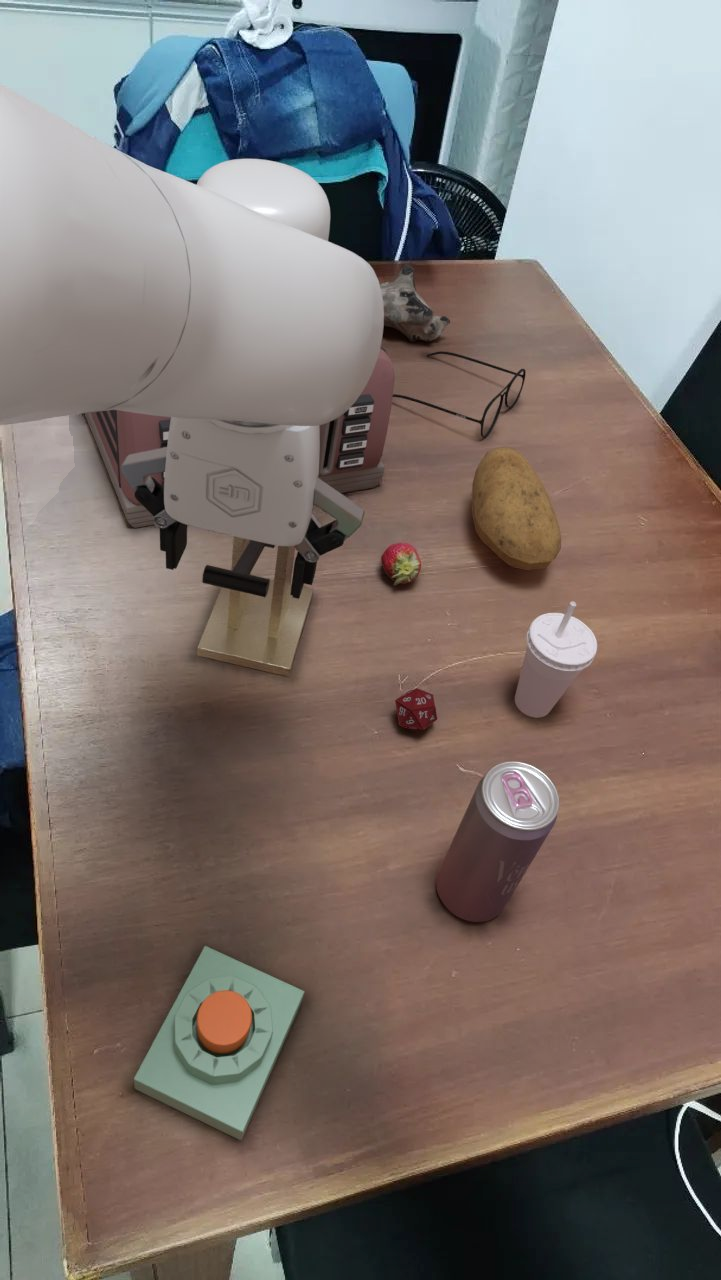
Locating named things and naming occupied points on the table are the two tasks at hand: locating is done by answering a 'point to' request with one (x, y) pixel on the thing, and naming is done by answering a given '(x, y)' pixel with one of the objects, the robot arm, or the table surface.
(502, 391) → the glasses
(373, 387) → the toaster
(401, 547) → the fruit
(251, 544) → the lever
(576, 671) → the smoothie
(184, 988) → the button block
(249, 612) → the bracket
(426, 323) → the decorative stone
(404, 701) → the dice
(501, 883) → the beverage can
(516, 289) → the table surface
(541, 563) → the potato
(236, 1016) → the button
